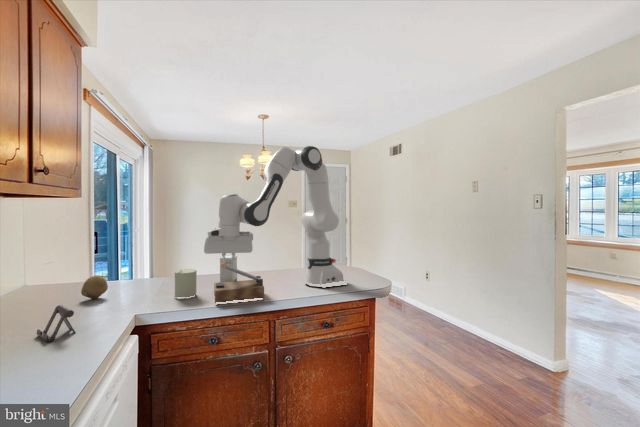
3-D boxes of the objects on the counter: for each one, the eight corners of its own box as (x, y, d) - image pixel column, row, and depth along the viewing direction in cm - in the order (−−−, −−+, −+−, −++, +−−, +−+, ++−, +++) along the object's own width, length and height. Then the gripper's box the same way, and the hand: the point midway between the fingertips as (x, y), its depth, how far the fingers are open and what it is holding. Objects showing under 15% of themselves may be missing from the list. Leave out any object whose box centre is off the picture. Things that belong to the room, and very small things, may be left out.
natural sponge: (113, 296, 137) (113, 274, 137) (93, 303, 128) (93, 279, 128) (97, 295, 139) (97, 273, 139) (77, 300, 131) (77, 277, 130)
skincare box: (232, 290, 150) (232, 258, 149) (218, 290, 150) (219, 258, 149) (237, 285, 158) (237, 255, 158) (224, 285, 158) (224, 255, 158)
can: (169, 297, 137) (169, 270, 137) (187, 292, 145) (187, 267, 145) (183, 300, 133) (183, 272, 132) (201, 295, 141) (201, 269, 140)
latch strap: (259, 281, 142) (261, 277, 143) (261, 283, 138) (263, 279, 139) (219, 265, 136) (221, 261, 136) (220, 267, 132) (222, 263, 132)
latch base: (258, 292, 147) (258, 274, 147) (264, 300, 134) (264, 281, 134) (214, 295, 140) (214, 277, 140) (215, 305, 127) (215, 284, 127)
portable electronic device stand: (36, 336, 96) (36, 309, 96) (67, 328, 102) (67, 303, 102) (46, 344, 91) (45, 315, 91) (78, 334, 98) (78, 308, 97)
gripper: (252, 230, 142) (251, 261, 142) (204, 231, 134) (203, 262, 135) (254, 232, 136) (253, 263, 136) (204, 232, 128) (203, 265, 129)
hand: (228, 263), depth 135 cm, fingers closed
